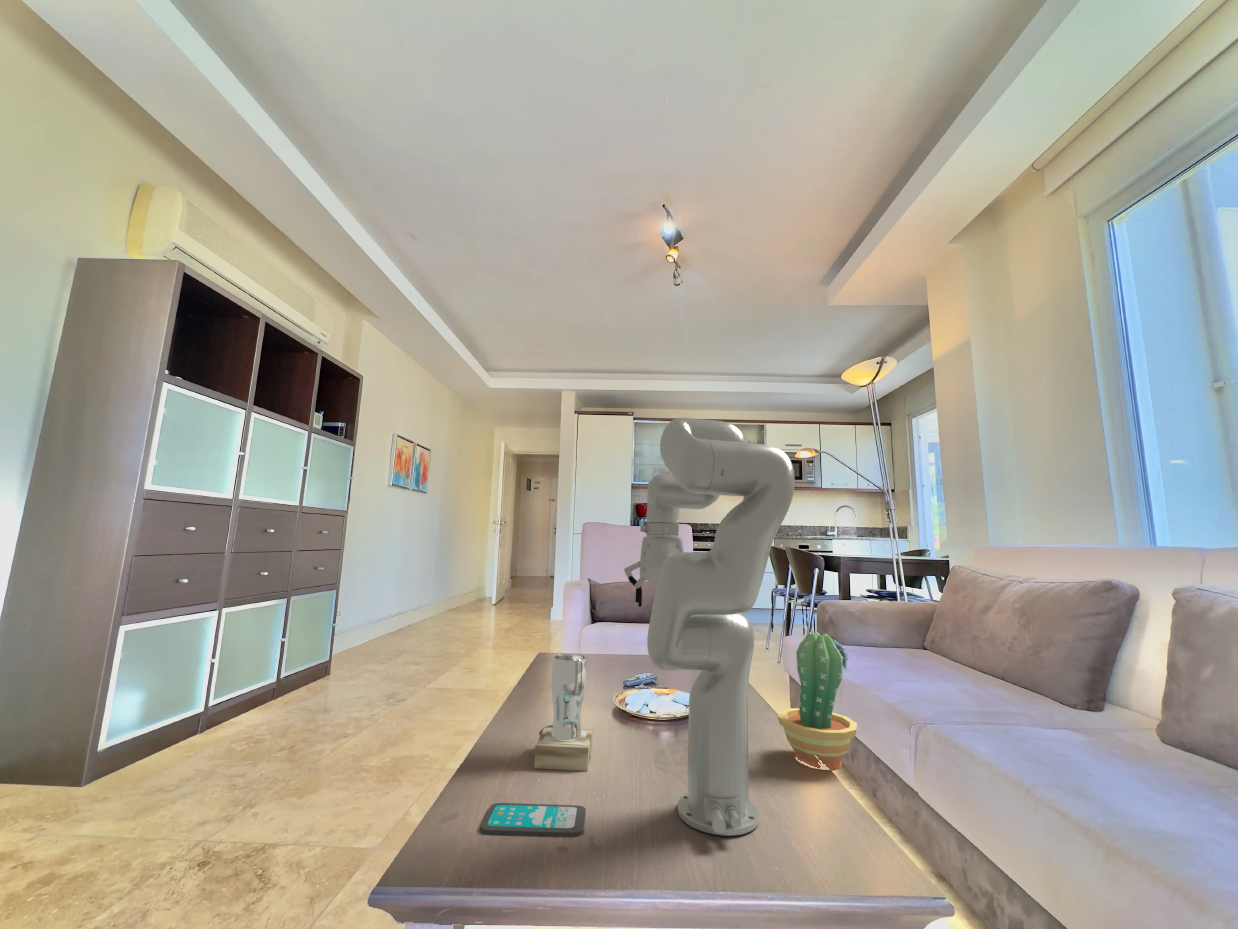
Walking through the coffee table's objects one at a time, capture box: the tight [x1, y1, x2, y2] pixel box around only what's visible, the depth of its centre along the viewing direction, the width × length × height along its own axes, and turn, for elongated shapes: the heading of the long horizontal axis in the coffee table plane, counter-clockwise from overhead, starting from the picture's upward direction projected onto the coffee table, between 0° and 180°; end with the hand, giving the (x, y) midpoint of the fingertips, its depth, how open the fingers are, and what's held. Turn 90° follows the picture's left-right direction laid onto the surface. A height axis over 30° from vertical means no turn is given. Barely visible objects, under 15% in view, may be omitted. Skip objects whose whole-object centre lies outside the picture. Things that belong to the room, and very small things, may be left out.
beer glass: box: [550, 653, 587, 742], centre depth 103 cm, size 7×7×15 cm
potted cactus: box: [777, 631, 858, 772], centre depth 107 cm, size 15×15×25 cm
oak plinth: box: [534, 726, 594, 772], centre depth 102 cm, size 10×10×4 cm
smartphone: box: [480, 802, 587, 838], centre depth 79 cm, size 9×1×15 cm
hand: (660, 606), depth 118 cm, fingers open, 9 cm apart
